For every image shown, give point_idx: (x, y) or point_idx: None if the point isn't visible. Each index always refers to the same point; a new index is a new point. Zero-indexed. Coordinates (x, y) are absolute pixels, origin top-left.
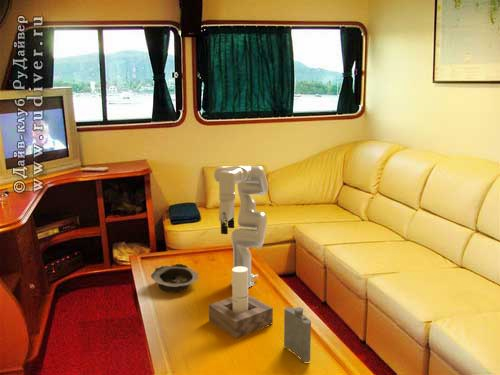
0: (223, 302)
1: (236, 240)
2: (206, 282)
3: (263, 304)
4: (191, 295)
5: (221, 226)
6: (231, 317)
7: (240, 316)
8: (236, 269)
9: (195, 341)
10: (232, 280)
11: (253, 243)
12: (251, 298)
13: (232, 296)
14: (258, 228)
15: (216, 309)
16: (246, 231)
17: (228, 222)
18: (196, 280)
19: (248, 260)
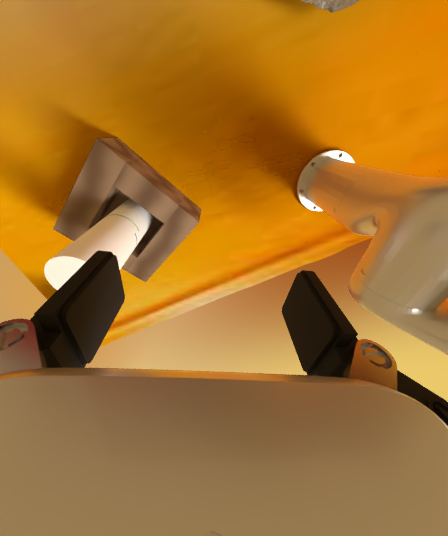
0: (129, 180)
1: (402, 213)
2: (359, 52)
3: (153, 266)
4: (257, 15)
5: (48, 310)
6: (65, 216)
7: (81, 233)
8: (67, 270)
9: (11, 127)
10: (75, 240)
11: (357, 275)
12: (173, 241)
13: (104, 218)
14: (417, 328)
15: (82, 170)
16: (431, 275)
17: (318, 316)
18: (318, 7)
19: (342, 224)
